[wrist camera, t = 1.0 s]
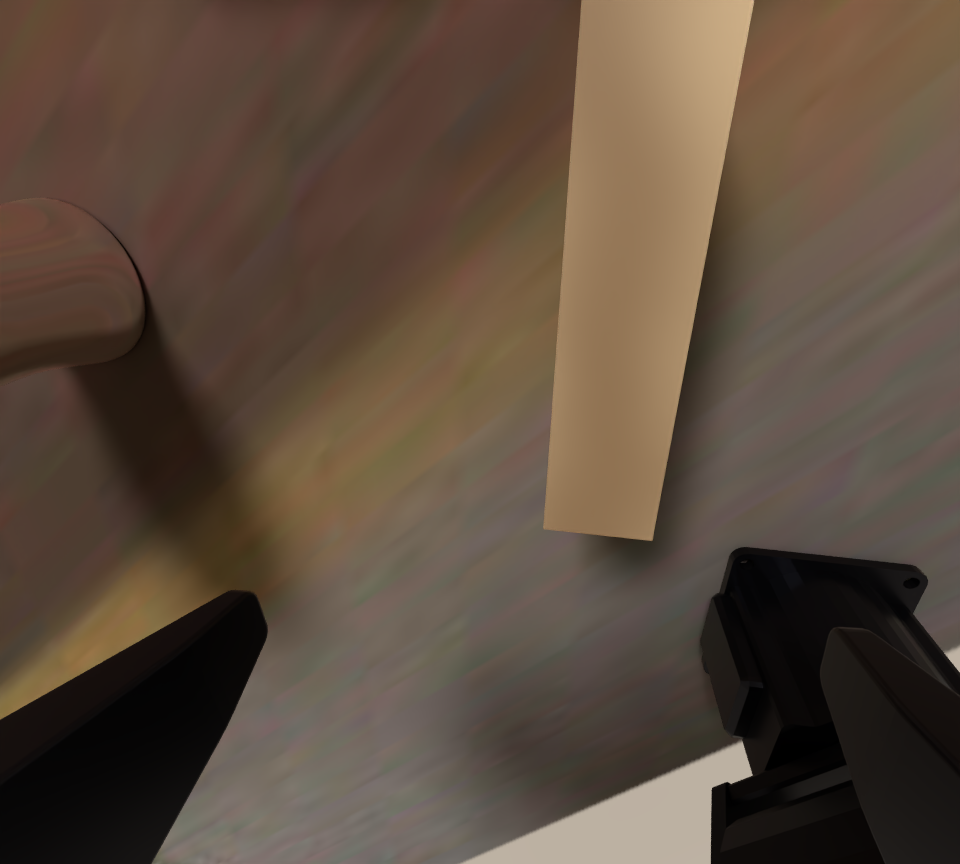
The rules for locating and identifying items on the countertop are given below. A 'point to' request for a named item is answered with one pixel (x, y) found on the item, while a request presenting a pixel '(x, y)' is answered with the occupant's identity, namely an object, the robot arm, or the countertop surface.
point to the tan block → (635, 247)
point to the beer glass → (63, 290)
